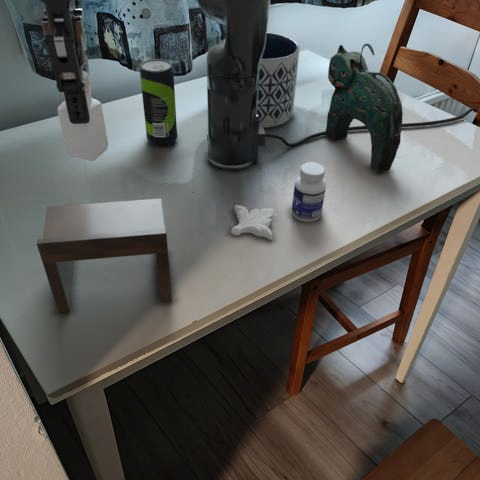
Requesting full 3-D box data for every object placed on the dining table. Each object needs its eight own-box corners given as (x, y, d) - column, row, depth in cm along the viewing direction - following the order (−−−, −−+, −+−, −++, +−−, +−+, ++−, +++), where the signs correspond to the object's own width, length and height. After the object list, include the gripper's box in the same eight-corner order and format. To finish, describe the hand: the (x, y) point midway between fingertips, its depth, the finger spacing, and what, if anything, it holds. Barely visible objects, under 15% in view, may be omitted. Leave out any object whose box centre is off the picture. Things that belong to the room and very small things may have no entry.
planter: (207, 113, 117) (206, 44, 106) (253, 91, 125) (256, 26, 115) (262, 137, 110) (266, 66, 100) (306, 113, 118) (315, 45, 108)
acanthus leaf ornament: (234, 211, 92) (234, 201, 90) (273, 214, 91) (274, 204, 90) (230, 236, 86) (230, 227, 85) (272, 240, 86) (273, 230, 85)
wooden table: (166, 253, 83) (160, 186, 74) (172, 301, 76) (166, 233, 67) (62, 262, 81) (43, 194, 72) (58, 312, 73) (36, 243, 65)
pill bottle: (289, 205, 93) (294, 160, 87) (318, 204, 94) (325, 159, 87) (293, 223, 90) (299, 177, 83) (323, 222, 90) (332, 176, 84)
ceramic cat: (316, 133, 112) (330, 31, 98) (340, 127, 114) (358, 27, 100) (374, 178, 100) (401, 70, 86) (400, 170, 103) (430, 64, 88)
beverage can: (183, 139, 108) (180, 64, 97) (162, 151, 105) (155, 74, 94) (162, 130, 111) (156, 55, 100) (140, 140, 108) (132, 64, 97)
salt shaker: (110, 148, 66) (98, 71, 59) (94, 163, 64) (79, 84, 57) (83, 142, 67) (67, 65, 60) (65, 157, 64) (47, 78, 57)
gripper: (85, -47, 45) (114, 139, 57) (90, -81, 54) (113, 84, 67) (-7, -47, 44) (43, 143, 56) (14, -82, 53) (52, 87, 66)
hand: (81, 110), depth 61 cm, fingers closed on salt shaker, 5 cm apart
